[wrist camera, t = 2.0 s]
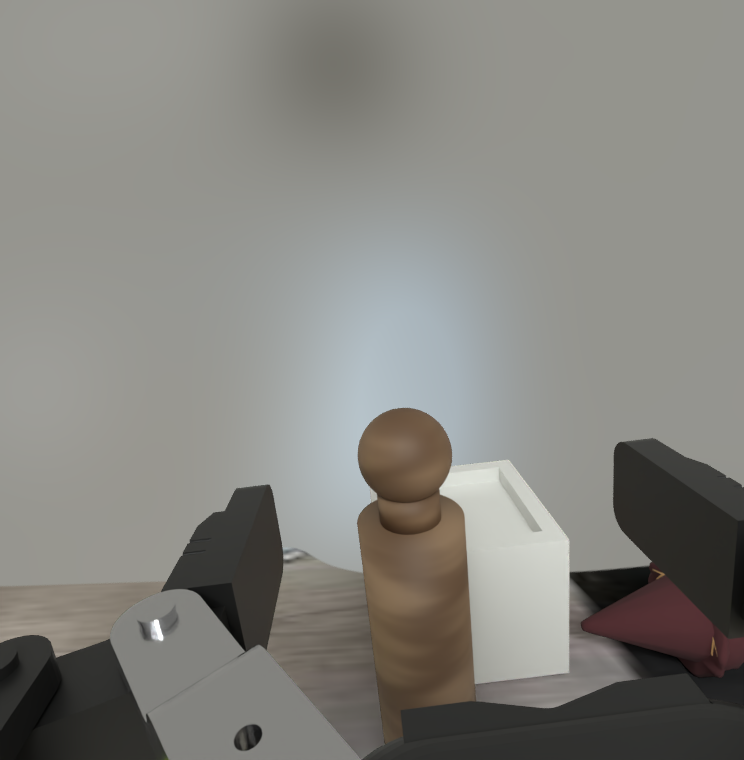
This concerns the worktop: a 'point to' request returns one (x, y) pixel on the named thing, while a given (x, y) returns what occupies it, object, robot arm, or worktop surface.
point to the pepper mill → (414, 568)
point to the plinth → (512, 574)
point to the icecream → (668, 627)
